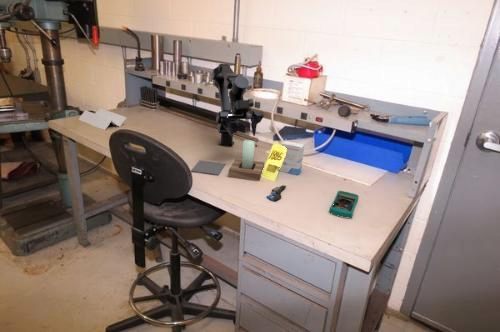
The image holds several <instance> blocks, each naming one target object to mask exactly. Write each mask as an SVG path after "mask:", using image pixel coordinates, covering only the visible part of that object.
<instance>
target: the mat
mask: <svg viewBox="0 0 500 332" xmlns="http://www.w3.org/2000/svg"><path fill="white" fill-rule="evenodd" d="M225 166H226V163H223V162H215V161H209V160H208V161H207V160H198V162H197V163H196V164H195V165H194V166H193V168H192V169H191V170H190V172H191V173H197V174H202V175H203V174H204V175H210V176H211V175H213V176H219V175H220V174H221V173H222V170H223V169H224V168H225Z"/></svg>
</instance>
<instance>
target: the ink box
mask: <svg viewBox="0 0 500 332" xmlns="http://www.w3.org/2000/svg"><path fill="white" fill-rule="evenodd" d="M281 145H282V146H285V147H286V148H287V152H286V157H285V160H284V162H283V165H282V167H281V170H280V171H279V172H282V173H288V174H292V175H295V176H299V174H300V173H301V171H302V165H303V160H304V159H303V158H304V150H305V144H302V143H298V142H294V141H293V142H292V141H288V140H284V141H283V142H281V144H280V146H281Z"/></svg>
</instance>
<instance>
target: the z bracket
mask: <svg viewBox="0 0 500 332" xmlns="http://www.w3.org/2000/svg"><path fill="white" fill-rule="evenodd" d="M126 119H127V117H126V116H123V115H121V114H118V113H115V112H113V111H109V110H106V109H104V108H101V107H99V108H98V109H97V111H96V112H95V113H94V112H91V111H88V110H84V112H82V114H81V115H80V116H79V118H78V121H79V120H80V121H82V122H84V123H85V124H88V125H91V126H94V127H95V128H99V129H100V128H101V129H100V130H103V129H104V131H106V130H107V128H108V127H109V126H110V123H111V125H113V126H115V125H116V126H115V127H118V126H120V127H121V126H122V125H123V123H124V122H125V120H126ZM105 129H106V130H105Z"/></svg>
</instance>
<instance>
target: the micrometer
mask: <svg viewBox="0 0 500 332" xmlns="http://www.w3.org/2000/svg"><path fill="white" fill-rule="evenodd" d="M286 188H287V185H284V184H282V185H280V186H276V187H274V188H273V189H271V192H270V194H269V195H267V196H266V199H268V200H270V201H271V202H275V203H276V202H279V200H281V199H282V193H283V191H285V190H286ZM281 192H282V193H281ZM272 196H273V197H272Z"/></svg>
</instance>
